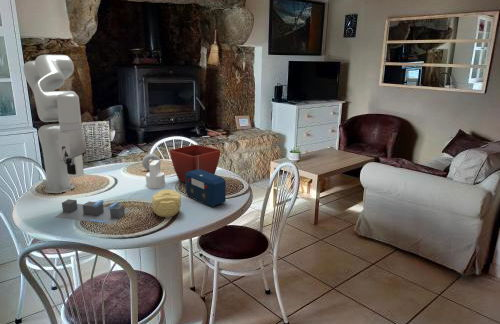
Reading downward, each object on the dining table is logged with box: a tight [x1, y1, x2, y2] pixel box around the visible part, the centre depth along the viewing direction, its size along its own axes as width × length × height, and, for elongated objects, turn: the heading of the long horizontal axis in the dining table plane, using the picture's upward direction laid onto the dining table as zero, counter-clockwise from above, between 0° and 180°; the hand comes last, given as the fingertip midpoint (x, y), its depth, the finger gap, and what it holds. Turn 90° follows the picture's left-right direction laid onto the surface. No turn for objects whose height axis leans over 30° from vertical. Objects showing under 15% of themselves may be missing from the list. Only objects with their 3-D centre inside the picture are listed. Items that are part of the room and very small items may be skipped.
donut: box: [141, 153, 161, 171], centre depth 207 cm, size 10×3×10 cm, turn 112°
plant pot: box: [169, 144, 222, 183], centre depth 191 cm, size 19×19×17 cm
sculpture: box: [151, 189, 182, 218], centre depth 150 cm, size 11×12×11 cm
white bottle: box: [68, 155, 85, 178], centre depth 143 cm, size 4×4×10 cm
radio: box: [185, 161, 227, 207], centre depth 165 cm, size 21×9×20 cm, turn 45°
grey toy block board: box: [54, 198, 132, 228], centre depth 147 cm, size 25×14×6 cm, turn 78°
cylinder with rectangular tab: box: [145, 159, 166, 189], centre depth 183 cm, size 9×9×12 cm
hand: (75, 171), depth 144 cm, fingers closed on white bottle, 4 cm apart
